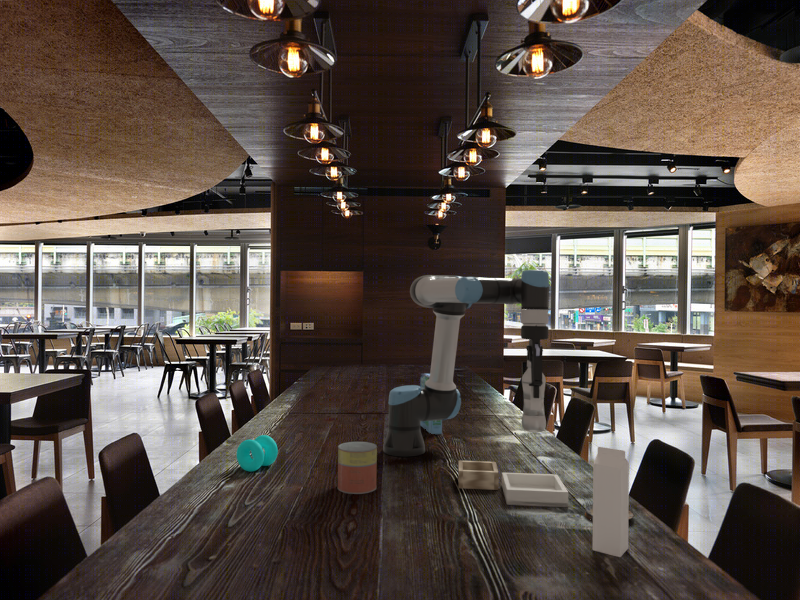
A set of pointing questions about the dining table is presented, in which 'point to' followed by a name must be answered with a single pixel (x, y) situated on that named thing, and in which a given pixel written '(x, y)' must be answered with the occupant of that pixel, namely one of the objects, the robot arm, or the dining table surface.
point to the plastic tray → (534, 490)
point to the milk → (610, 501)
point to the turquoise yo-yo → (257, 453)
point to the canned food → (357, 467)
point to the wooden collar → (478, 475)
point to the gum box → (434, 425)
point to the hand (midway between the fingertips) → (533, 407)
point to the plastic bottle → (530, 418)
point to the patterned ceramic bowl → (590, 513)
